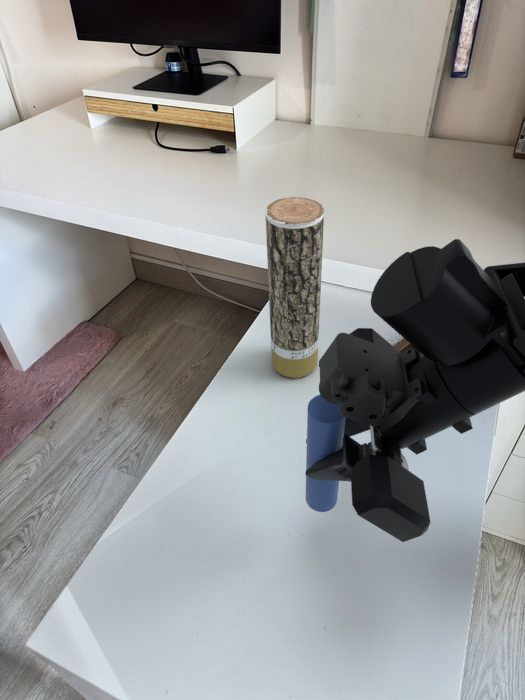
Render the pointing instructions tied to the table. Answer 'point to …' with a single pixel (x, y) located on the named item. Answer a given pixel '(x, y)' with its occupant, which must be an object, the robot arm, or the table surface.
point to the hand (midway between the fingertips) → (308, 459)
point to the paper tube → (294, 282)
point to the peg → (322, 450)
